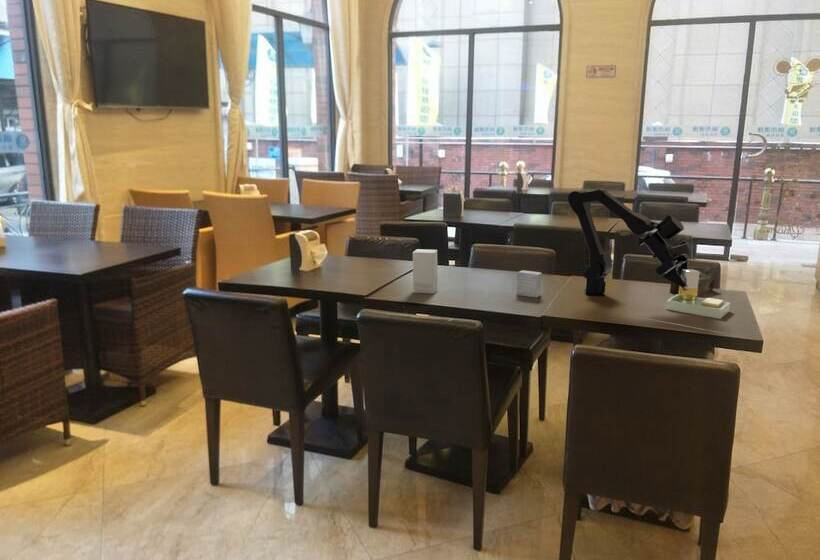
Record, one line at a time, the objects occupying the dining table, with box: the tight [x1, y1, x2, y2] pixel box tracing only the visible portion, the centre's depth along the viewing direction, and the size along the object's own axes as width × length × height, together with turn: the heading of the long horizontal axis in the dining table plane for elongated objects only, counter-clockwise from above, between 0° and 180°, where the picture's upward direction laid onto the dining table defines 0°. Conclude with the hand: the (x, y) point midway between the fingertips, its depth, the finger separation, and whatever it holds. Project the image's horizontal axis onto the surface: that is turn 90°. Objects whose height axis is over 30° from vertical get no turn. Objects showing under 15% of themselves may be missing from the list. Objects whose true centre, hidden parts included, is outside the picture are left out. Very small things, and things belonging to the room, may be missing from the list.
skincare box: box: [412, 248, 439, 295], centre depth 237 cm, size 8×7×16 cm
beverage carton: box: [669, 271, 716, 296], centre depth 242 cm, size 8×19×7 cm, turn 129°
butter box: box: [701, 297, 725, 309], centre depth 213 cm, size 5×7×4 cm
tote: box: [665, 294, 731, 320], centre depth 216 cm, size 17×11×4 cm, turn 51°
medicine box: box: [516, 270, 543, 299], centre depth 234 cm, size 8×4×9 cm, turn 59°
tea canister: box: [678, 268, 700, 305], centre depth 217 cm, size 6×6×13 cm
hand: (688, 284), depth 217 cm, fingers open, 9 cm apart
